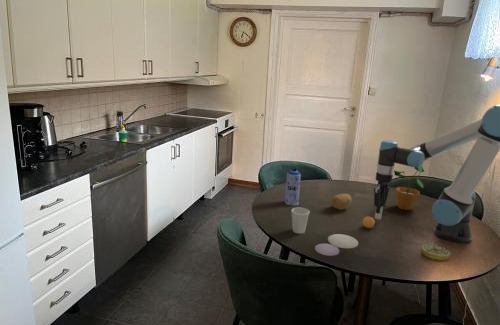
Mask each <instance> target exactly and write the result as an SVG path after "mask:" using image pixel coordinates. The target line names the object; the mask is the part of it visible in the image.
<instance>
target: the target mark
mask: <svg viewBox="0 0 500 325" xmlns="http://www.w3.org/2000/svg"><path fill="white" fill-rule="evenodd" d="M327 241H328V244H331V245H334V246H336V247H337V248H339V249H340V248H341V249H353V248H356V247H358V246H359V241H358V240H357V239H356V238H354V237H353V236H350V235H347V234H343V233H342V234H341V233H337V234H334V233H333V234H331V235H329V236H328V237H327Z"/></svg>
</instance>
